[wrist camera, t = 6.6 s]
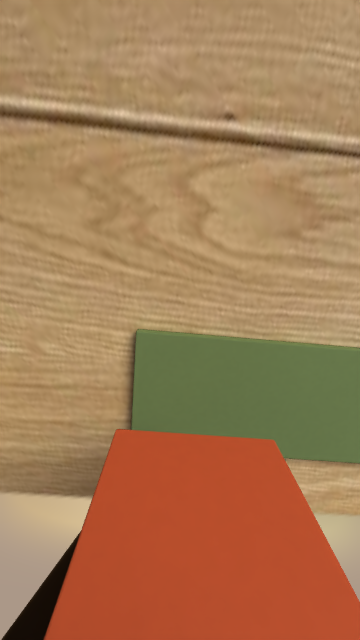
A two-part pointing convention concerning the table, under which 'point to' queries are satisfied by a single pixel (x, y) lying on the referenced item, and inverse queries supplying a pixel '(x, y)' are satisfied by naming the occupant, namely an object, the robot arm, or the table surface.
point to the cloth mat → (250, 392)
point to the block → (201, 549)
